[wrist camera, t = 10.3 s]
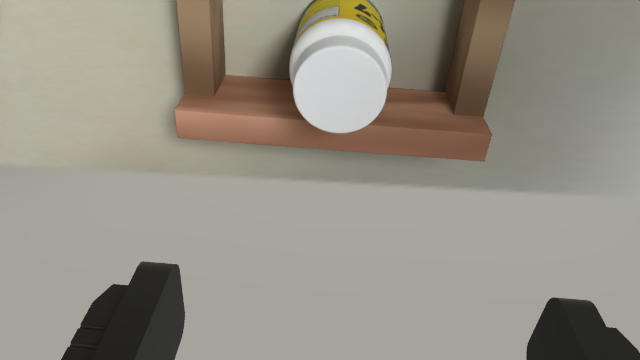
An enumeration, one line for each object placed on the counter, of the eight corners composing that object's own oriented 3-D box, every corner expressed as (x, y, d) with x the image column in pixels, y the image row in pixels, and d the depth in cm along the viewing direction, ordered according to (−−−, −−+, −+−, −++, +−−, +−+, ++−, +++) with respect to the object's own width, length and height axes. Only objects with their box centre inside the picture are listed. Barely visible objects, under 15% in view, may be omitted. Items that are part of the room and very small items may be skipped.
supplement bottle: (398, 48, 28) (415, 115, 21) (325, 86, 30) (319, 159, 23) (359, -31, 26) (364, 15, 19) (282, 14, 28) (261, 71, 21)
